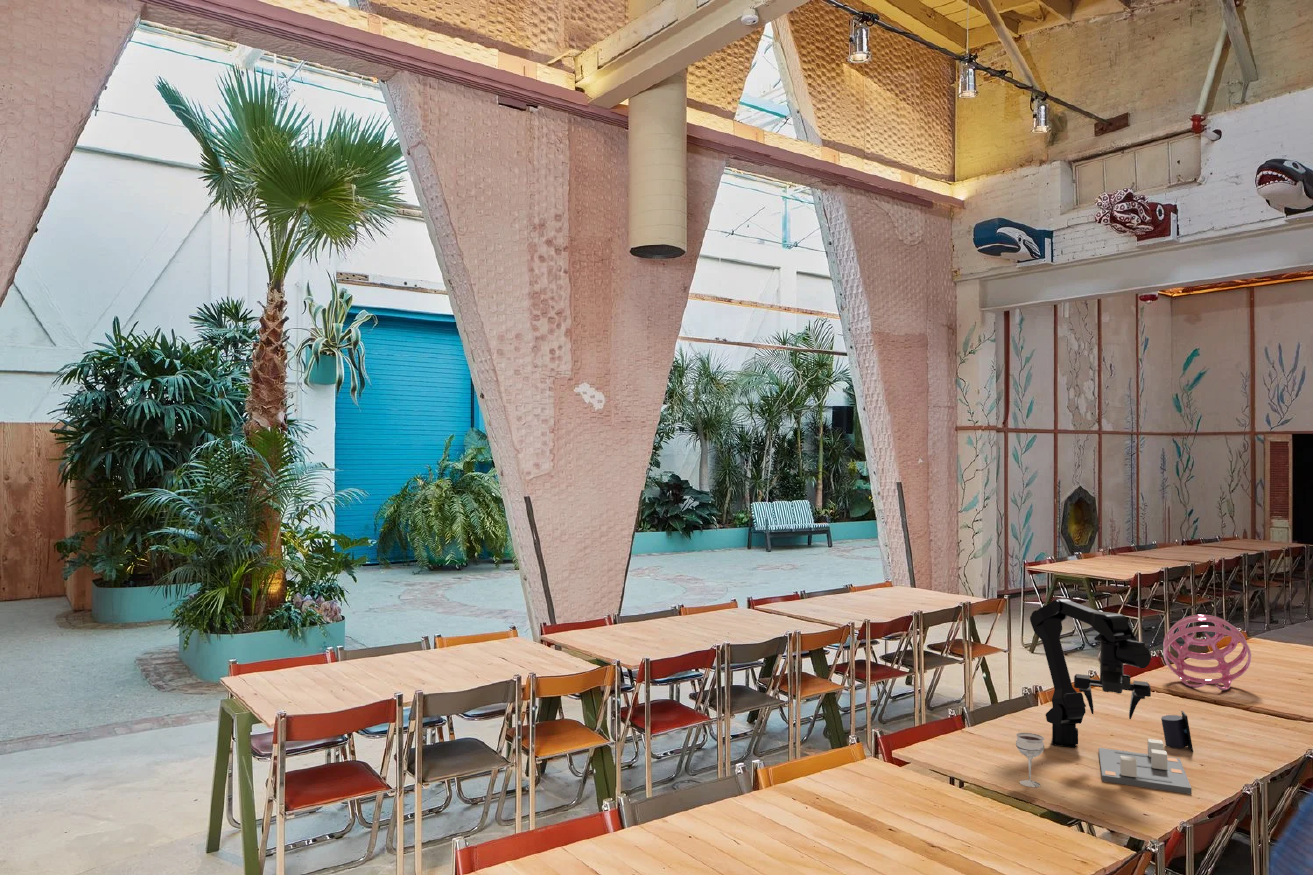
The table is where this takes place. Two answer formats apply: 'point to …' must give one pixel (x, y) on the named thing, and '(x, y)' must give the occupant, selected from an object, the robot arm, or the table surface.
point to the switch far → (1154, 745)
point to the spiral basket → (1216, 654)
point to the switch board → (1144, 772)
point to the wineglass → (1030, 751)
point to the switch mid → (1159, 759)
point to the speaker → (1177, 731)
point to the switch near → (1128, 766)
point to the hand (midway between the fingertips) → (1111, 716)
